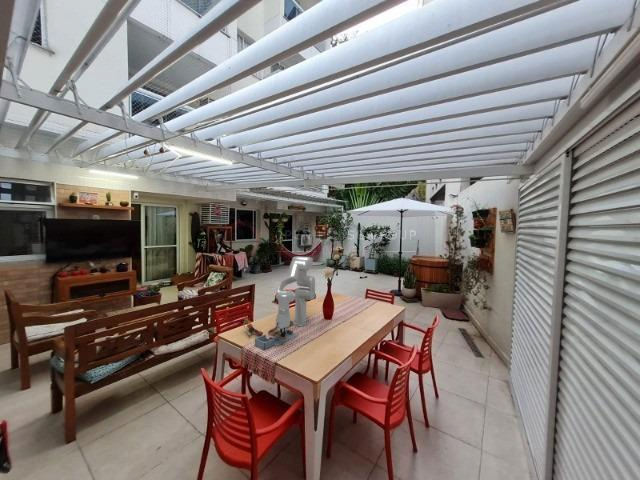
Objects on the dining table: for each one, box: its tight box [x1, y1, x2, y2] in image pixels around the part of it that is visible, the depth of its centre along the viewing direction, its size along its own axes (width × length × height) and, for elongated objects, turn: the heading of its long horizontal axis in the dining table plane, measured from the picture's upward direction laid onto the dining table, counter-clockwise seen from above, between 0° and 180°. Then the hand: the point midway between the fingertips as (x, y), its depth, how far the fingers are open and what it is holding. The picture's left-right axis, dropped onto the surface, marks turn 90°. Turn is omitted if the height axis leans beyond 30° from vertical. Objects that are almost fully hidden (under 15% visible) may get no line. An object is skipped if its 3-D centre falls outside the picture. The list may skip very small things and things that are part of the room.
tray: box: [254, 334, 276, 351], centre depth 178 cm, size 9×11×5 cm
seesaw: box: [267, 320, 294, 340], centre depth 187 cm, size 20×15×3 cm
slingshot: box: [243, 317, 264, 338], centre depth 195 cm, size 17×10×15 cm
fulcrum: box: [268, 329, 298, 347], centre depth 189 cm, size 21×12×8 cm, turn 141°
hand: (282, 336), depth 177 cm, fingers closed
